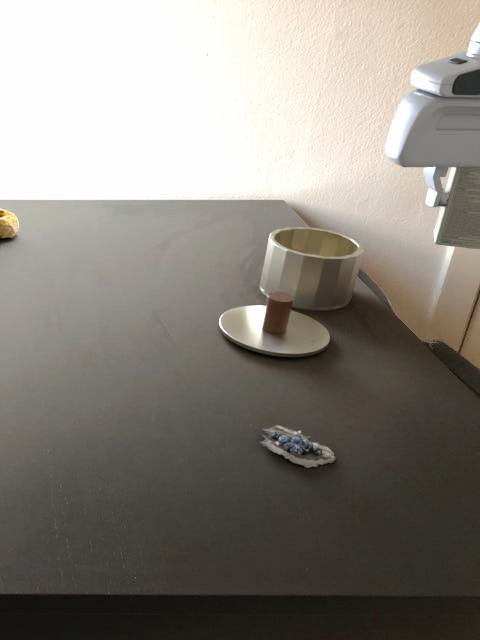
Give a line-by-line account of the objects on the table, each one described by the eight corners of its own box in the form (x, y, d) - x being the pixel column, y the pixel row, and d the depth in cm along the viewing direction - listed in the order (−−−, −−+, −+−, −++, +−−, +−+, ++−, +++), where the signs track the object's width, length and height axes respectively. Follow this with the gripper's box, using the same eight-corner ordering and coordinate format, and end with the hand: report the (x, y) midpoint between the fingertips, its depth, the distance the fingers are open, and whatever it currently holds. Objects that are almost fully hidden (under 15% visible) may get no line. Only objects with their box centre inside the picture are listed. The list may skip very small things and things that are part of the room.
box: (481, 239, 85) (515, 140, 79) (485, 251, 81) (520, 149, 76) (430, 232, 87) (459, 136, 81) (431, 244, 83) (462, 144, 78)
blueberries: (261, 424, 85) (264, 410, 84) (336, 440, 82) (340, 426, 81) (256, 457, 79) (259, 443, 78) (336, 475, 77) (340, 461, 76)
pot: (329, 276, 124) (342, 227, 119) (365, 311, 112) (380, 258, 108) (248, 275, 123) (258, 226, 119) (275, 310, 112) (286, 257, 107)
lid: (305, 313, 111) (314, 276, 108) (345, 361, 98) (357, 321, 95) (206, 312, 111) (213, 274, 108) (234, 360, 98) (242, 319, 95)
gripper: (590, 69, 78) (542, 197, 85) (397, 68, 78) (365, 197, 85) (636, 78, 72) (580, 215, 79) (428, 78, 72) (391, 215, 79)
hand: (468, 206), depth 82 cm, fingers closed on box, 6 cm apart
